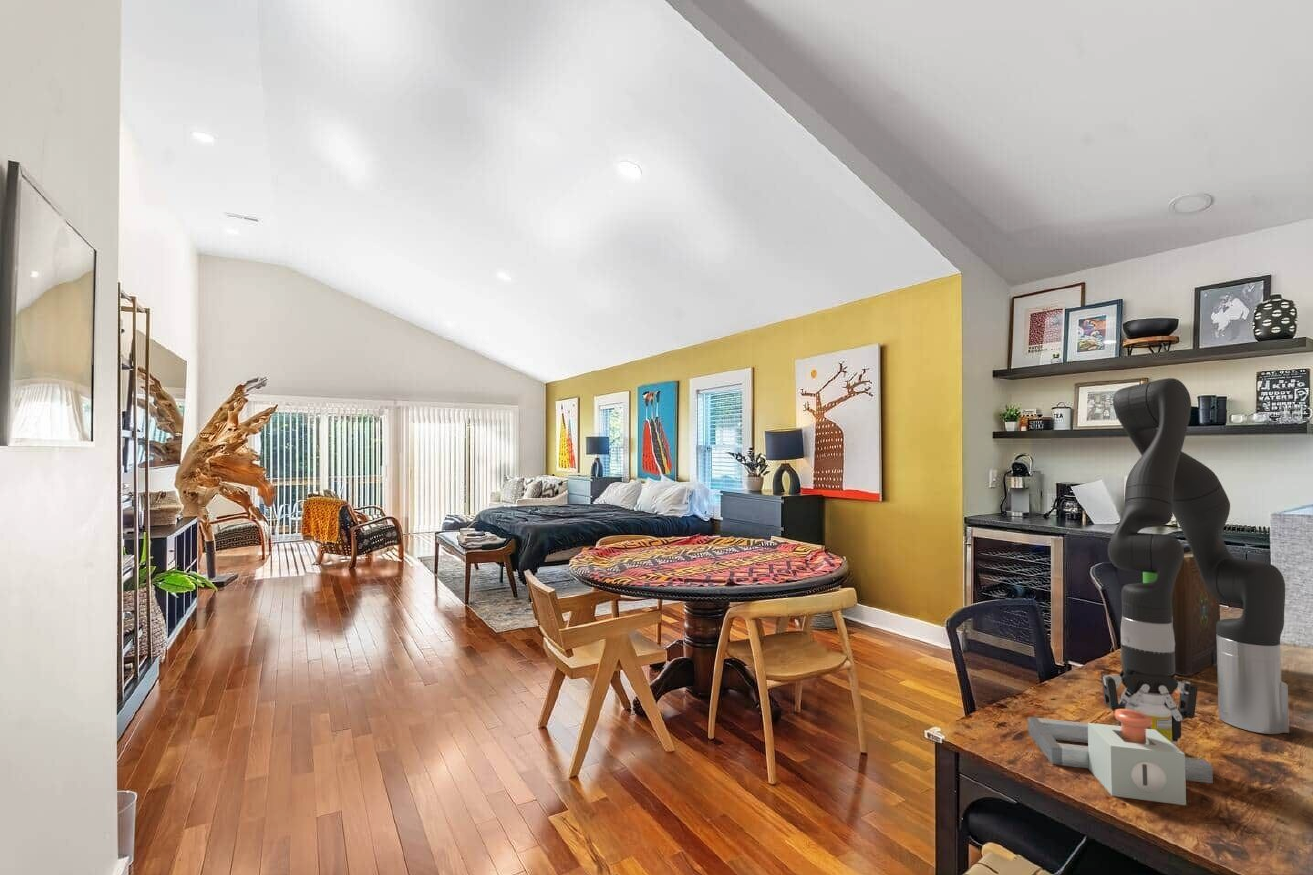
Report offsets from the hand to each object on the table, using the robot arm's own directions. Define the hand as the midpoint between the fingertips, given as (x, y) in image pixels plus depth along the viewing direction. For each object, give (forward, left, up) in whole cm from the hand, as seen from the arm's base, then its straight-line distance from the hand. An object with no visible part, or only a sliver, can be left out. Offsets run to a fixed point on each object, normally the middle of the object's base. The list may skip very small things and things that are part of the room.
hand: (1149, 736), depth 106 cm
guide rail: (+5, 0, -4) cm, 6 cm away
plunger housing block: (+7, +10, -4) cm, 13 cm away
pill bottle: (0, 0, -3) cm, 3 cm away
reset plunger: (+7, +10, +4) cm, 13 cm away
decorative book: (-35, -58, -4) cm, 68 cm away
